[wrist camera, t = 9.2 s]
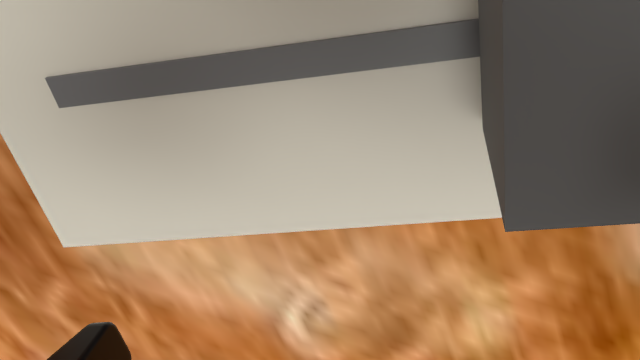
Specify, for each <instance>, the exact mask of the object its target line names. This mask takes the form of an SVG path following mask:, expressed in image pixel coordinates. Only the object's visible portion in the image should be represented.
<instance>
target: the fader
mask: <svg viewBox="0 0 640 360" xmlns="http://www.w3.org/2000/svg"><path fill="white" fill-rule="evenodd" d="M478 13H479V41H480V69H481V97H482V125H483V133H484V137H485V142H486V146H487V151H488V155H489V160H490V164H491V169H492V173H493V178H494V182H495V187H496V192H497V196H498V201H499V205H500V210H501V214H502V219H503V223H504V228H505V232H510V231H525V230H541V229H557V228H573V227H589V226H605V225H620V224H636V223H640V0H478Z"/></svg>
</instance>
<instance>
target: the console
mask: <svg viewBox="0 0 640 360" xmlns="http://www.w3.org/2000/svg"><path fill="white" fill-rule="evenodd" d="M0 133H1V135H2V137H3V139H4V140H5V142H6V144H7V146H8V148H9V149H10V151H11V153H12V155H13V157H14V158H15V160H16V162H17V164H18V166H19V167H20V169H21V171H22V173H23V175H24V176H25V178H26V180H27V182H28V184H29V186H30V187H31V189H32V191H33V193H34V195H35V196H36V198H37V200H38V202H39V204H40V205H41V207H42V209H43V211H44V213H45V214H46V216H47V218H48V220H49V222H50V223H51V225H52V227H53V229H54V231H55V233H56V234H57V236H58V238H59V240H60V242H61V243H62V245H63V247H77V246H92V245H107V244H121V243H136V242H151V241H166V240H180V239H195V238H210V237H224V236H239V235H254V234H269V233H283V232H298V231H313V230H328V229H342V228H357V227H372V226H386V225H401V224H416V223H431V222H445V221H460V220H475V219H489V218H502V214H501V210H500V205H499V201H498V196H497V192H496V187H495V182H494V178H493V173H492V169H491V164H490V160H489V155H488V151H487V146H486V142H485V137H484V133H483V125H482V97H481V69H480V41H479V13H478V0H0Z"/></svg>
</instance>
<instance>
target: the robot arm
mask: <svg viewBox="0 0 640 360" xmlns="http://www.w3.org/2000/svg"><path fill="white" fill-rule="evenodd" d="M47 360H131V354H130V351H129V349H128V347H127V345H126V343H125V341H124V340H123V338H122V336H121V334H120V332H119V331H118V329H117V327H116V326H115V325H114V324H113V323H111V322H102V323H92V324H89V325H87V326H86V327H84V328H83V329H82V330H81V331H80V332H79V333H77V334H76V335H75V336H74V337H73V338H72V339H70V340H69V341H68V342H67V343H66V344H65V345H63V346H62V347H61V348H60V349H59V350H58V351H56V352H55V353H54V354H53V355H52V356H51V357H49V358H48V359H47Z"/></svg>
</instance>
